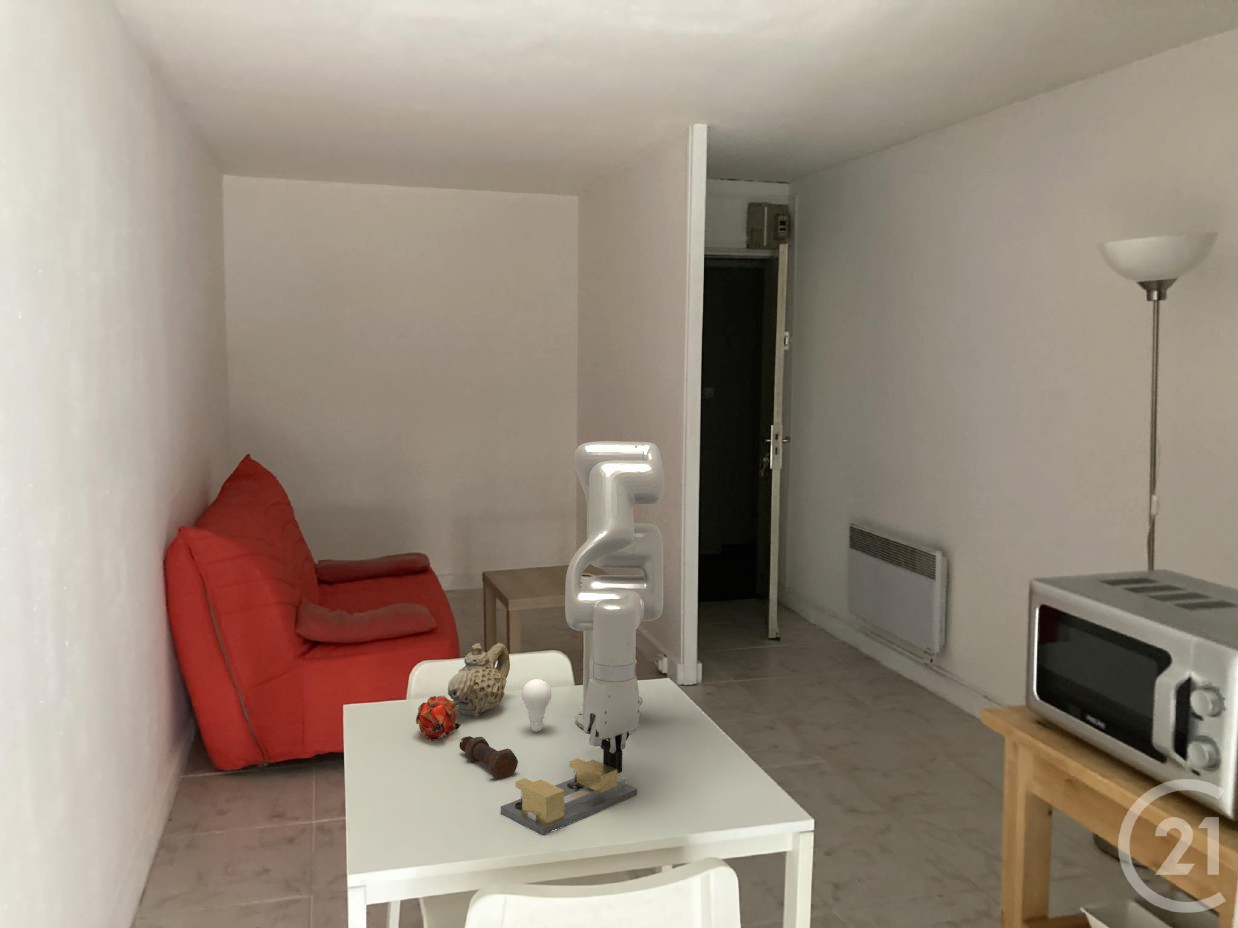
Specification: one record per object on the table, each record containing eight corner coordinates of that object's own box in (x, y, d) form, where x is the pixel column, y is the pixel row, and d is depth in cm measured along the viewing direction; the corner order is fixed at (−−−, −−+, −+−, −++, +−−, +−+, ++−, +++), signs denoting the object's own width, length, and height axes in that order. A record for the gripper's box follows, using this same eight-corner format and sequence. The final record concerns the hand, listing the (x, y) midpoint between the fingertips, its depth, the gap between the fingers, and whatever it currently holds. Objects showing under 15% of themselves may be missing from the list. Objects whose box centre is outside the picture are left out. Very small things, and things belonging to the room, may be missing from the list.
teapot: (474, 731, 210) (473, 660, 208) (427, 721, 215) (427, 652, 213) (526, 700, 229) (527, 634, 228) (483, 692, 234) (483, 628, 232)
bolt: (469, 761, 199) (509, 784, 187) (449, 753, 196) (488, 777, 185) (482, 732, 201) (522, 754, 189) (462, 724, 198) (501, 746, 186)
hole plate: (594, 776, 188) (594, 745, 187) (637, 794, 180) (637, 762, 180) (500, 813, 172) (500, 779, 172) (543, 835, 165) (543, 800, 164)
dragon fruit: (440, 730, 214) (441, 760, 203) (407, 710, 212) (406, 740, 200) (465, 699, 213) (467, 728, 202) (431, 679, 211) (432, 707, 199)
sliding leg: (581, 776, 183) (581, 754, 183) (616, 791, 177) (617, 769, 177) (565, 782, 181) (565, 760, 180) (600, 798, 174) (600, 775, 174)
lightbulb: (556, 729, 212) (556, 677, 210) (542, 738, 206) (542, 686, 205) (530, 724, 214) (531, 673, 213) (516, 733, 209) (516, 681, 207)
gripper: (628, 657, 186) (626, 753, 188) (568, 674, 176) (567, 776, 178) (658, 666, 181) (656, 765, 183) (598, 684, 170) (597, 789, 172)
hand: (612, 770), depth 180 cm, fingers closed
